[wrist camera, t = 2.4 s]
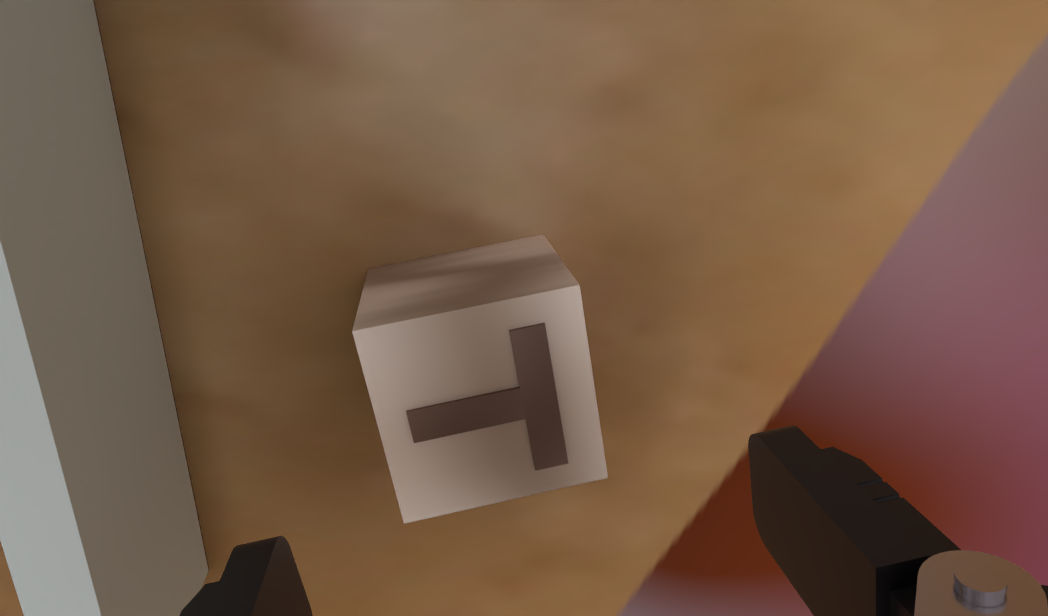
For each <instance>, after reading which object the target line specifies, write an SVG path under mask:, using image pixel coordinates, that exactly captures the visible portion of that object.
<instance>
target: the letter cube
mask: <svg viewBox="0 0 1048 616" xmlns="http://www.w3.org/2000/svg"><path fill="white" fill-rule="evenodd" d="M352 333H353V336H354V340H355V344H356V348H357V351H358V355H359V359H360V362H361V366H362V370H363V373H364V377H365V381H366V385H367V388H368V392H369V396H370V399H371V403H372V407H373V410H374V414H375V418H376V422H377V425H378V429H379V433H380V436H381V440H382V444H383V447H384V451H385V455H386V459H387V462H388V466H389V470H390V473H391V477H392V481H393V484H394V488H395V492H396V496H397V499H398V503H399V507H400V510H401V514H402V518H403V521H404V524H405V523H409V522H413V521H418V520H422V519H427V518H431V517H436V516H440V515H445V514H449V513H453V512H458V511H462V510H467V509H471V508H476V507H480V506H485V505H489V504H493V503H498V502H502V501H507V500H511V499H516V498H520V497H525V496H529V495H534V494H538V493H542V492H547V491H551V490H556V489H560V488H565V487H569V486H574V485H578V484H582V483H587V482H591V481H596V480H600V479H605V478H608V475H607V468H606V461H605V455H604V448H603V441H602V434H601V427H600V421H599V414H598V407H597V400H596V393H595V387H594V380H593V373H592V366H591V359H590V353H589V346H588V339H587V332H586V325H585V319H584V312H583V305H582V298H581V291H580V285H579V283H578V282H577V281H576V279H575V278H574V276H573V275H572V274H571V272H570V271H569V269H568V268H567V267H566V265H565V264H564V262H563V261H562V260H561V258H560V257H559V255H558V254H557V253H556V251H555V250H554V248H553V247H552V246H551V244H550V243H549V241H548V240H547V239H546V237H545V236H544V234H542V235H537V236H532V237H527V238H522V239H516V240H511V241H506V242H501V243H496V244H491V245H486V246H481V247H476V248H471V249H466V250H461V251H456V252H451V253H445V254H440V255H435V256H430V257H425V258H420V259H415V260H410V261H405V262H400V263H395V264H390V265H385V266H380V267H375V268H369V269H368V271H367V275H366V279H365V283H364V287H363V291H362V295H361V299H360V302H359V306H358V310H357V314H356V318H355V322H354V326H353V330H352Z"/></svg>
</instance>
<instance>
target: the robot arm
mask: <svg viewBox="0 0 1048 616" xmlns="http://www.w3.org/2000/svg"><path fill="white" fill-rule="evenodd" d="M748 449H749V462H750V476H751V490H752V503H753V513H754V518H755V522H756V526H757V529H758V531H759V534H760V537H761V539H762V541H763V543H764V545H765V546H766V548H767V549H768V551H769V552H770V554H771V555H772V556H773V558H774V559H775V561H776V562H777V564H778V565H779V567H780V568H781V569H782V571H783V572H784V574H785V575H786V576H787V578H788V579H789V581H790V582H791V584H792V585H793V587H794V588H795V589H796V591H797V592H798V594H799V595H800V597H801V598H802V599H803V601H804V602H805V603H806V605H807V606H808V608H809V609H810V611H811V612H812V614H813V615H814V616H1048V586H1045V585H1040V584H1039V583H1038V582H1037V581H1036V579H1035V578H1034V577H1032V576H1031V575H1030V574H1029V573H1028V572H1026V571H1025V570H1023V569H1022V568H1020V567H1019V566H1017V565H1015V564H1013V563H1011V562H1009V561H1007V560H1005V559H1002V558H1000V557H996V556H993V555H990V554H986V553H981V552H975V551H964V550H961V549H959V548H958V547H957V546H956V545H955V544H954V543H953V542H952V541H951V540H950V539H948V538H947V537H946V536H945V535H944V534H943V533H942V532H941V531H939V530H938V529H937V528H936V527H935V526H934V525H933V524H932V523H931V522H929V521H928V520H927V519H926V518H925V517H924V516H923V515H922V514H921V513H920V512H919V511H917V510H916V509H915V508H914V507H913V506H912V505H911V504H910V503H909V502H908V501H906V500H905V499H904V498H900V497H899V493H898V492H897V491H895V490H894V489H893V488H892V487H891V486H890V485H888V483H887V482H883V481H882V478H881V477H880V476H879V475H878V474H877V473H875V472H874V471H873V470H872V469H871V468H870V467H869V466H868V465H866V463H864V462H863V461H862V460H860V459H858V458H856V457H854V456H852V455H850V454H847V453H845V452H843V451H841V450H839V449H836V448H834V447H830V448H825V449H820V448H819V447H818V446H816V445H815V444H814V443H813V442H812V441H811V440H810V439H809V438H808V437H807V436H806V435H805V434H804V433H803V432H802V431H801V430H800V429H799V428H798V427H796V426H787V427H783V428H778V429H774V430H770V431H765V432H760V433H755V434H752V435H751V436H750V438H749V443H748ZM179 616H312V611H311V608H310V604H309V601H308V599H307V596H306V593H305V590H304V587H303V584H302V581H301V578H300V575H299V572H298V569H297V566H296V563H295V560H294V557H293V554H292V551H291V548H290V546H289V544H288V542H287V540H286V539H285V538H284V537H283V536H278V537H274V538H269V539H265V540H260V541H255V542H251V543H246V544H242V545H237V546H236V547H235V548H234V549H233V551H232V553H231V555H230V558H229V560H228V562H227V565H226V567H225V570H224V572H223V574H222V577H221V579H220V581H218V582H214V583H209V584H205V585H204V587H203V588H202V589H201V590H200V591H199V592H198V593H197V594H196V595H195V596H194V598H193V599H192V600H191V601H190V602H189V603H188V604H187V605H186V606H185V607H184V608H183V610H182V611H181V613H180V615H179Z"/></svg>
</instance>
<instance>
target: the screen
mask: <svg viewBox="0 0 1048 616" xmlns="http://www.w3.org/2000/svg"><path fill="white" fill-rule="evenodd" d="M0 541H1V544H2V547H3V550H4V553H5V557H6V560H7V563H8V566H9V569H10V573H11V576H12V579H13V582H14V585H15V589H16V592H17V595H18V598H19V601H20V605H21V608H22V611H23V614H24V616H179V615H180V613H181V611H182V610H183V608H184V607H185V606H186V605H187V604H188V603H189V602H190V601H191V600H192V599H193V598H194V596H195V595H196V594H197V593H198V592H199V591H200V590H201V588H202V585H203V583H204V581H205V578H206V576H207V574H208V571H209V570H208V565H207V561H206V556H205V551H204V546H203V541H202V536H201V531H200V526H199V521H198V516H197V511H196V506H195V501H194V496H193V491H192V486H191V481H190V477H189V472H188V467H187V462H186V457H185V452H184V447H183V442H182V437H181V432H180V427H179V422H178V417H177V412H176V407H175V402H174V397H173V393H172V388H171V383H170V378H169V373H168V368H167V363H166V358H165V353H164V348H163V343H162V338H161V333H160V328H159V323H158V318H157V313H156V308H155V304H154V299H153V294H152V289H151V284H150V279H149V274H148V269H147V264H146V259H145V254H144V249H143V244H142V239H141V234H140V229H139V224H138V220H137V215H136V210H135V205H134V200H133V195H132V190H131V185H130V180H129V175H128V170H127V165H126V160H125V155H124V150H123V145H122V140H121V136H120V131H119V126H118V121H117V116H116V111H115V106H114V101H113V96H112V91H111V86H110V81H109V76H108V71H107V66H106V61H105V56H104V52H103V47H102V42H101V37H100V32H99V27H98V22H97V17H96V12H95V7H94V2H93V0H0Z"/></svg>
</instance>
